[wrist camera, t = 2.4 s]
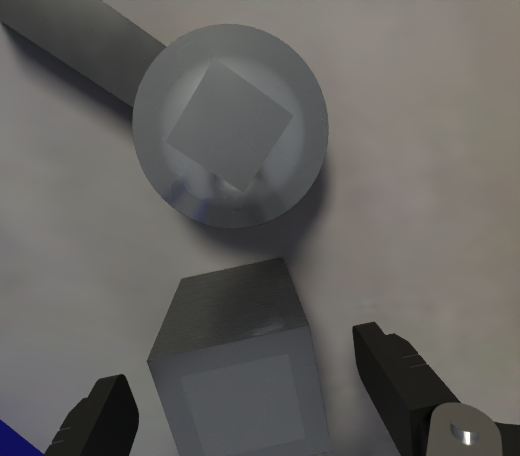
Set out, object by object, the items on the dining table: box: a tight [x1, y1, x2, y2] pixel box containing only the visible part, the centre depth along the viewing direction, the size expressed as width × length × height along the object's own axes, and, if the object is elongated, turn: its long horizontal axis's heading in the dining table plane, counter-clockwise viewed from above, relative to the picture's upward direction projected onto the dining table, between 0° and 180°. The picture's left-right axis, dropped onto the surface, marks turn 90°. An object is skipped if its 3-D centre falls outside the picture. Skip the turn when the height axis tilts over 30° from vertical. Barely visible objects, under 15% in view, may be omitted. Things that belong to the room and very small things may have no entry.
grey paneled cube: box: [147, 258, 332, 456], centre depth 13 cm, size 5×5×6 cm
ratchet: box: [0, 0, 329, 228], centre depth 10 cm, size 14×7×6 cm, turn 56°
